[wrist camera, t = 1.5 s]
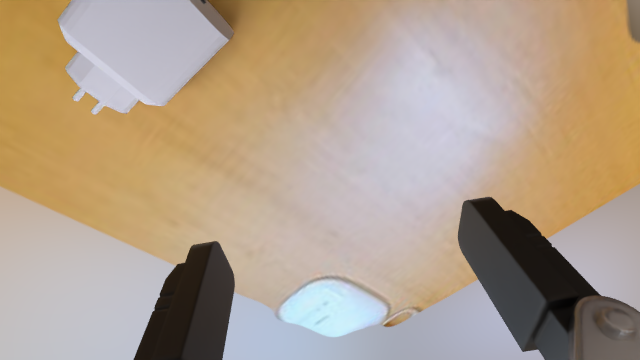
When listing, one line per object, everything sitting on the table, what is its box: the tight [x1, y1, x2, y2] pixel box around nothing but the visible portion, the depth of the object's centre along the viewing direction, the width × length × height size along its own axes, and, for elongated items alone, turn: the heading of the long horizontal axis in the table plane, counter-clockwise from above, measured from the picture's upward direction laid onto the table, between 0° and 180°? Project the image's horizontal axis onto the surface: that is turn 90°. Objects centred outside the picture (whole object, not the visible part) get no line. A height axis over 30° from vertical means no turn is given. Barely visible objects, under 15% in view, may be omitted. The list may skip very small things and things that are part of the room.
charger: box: [58, 0, 234, 114], centre depth 27 cm, size 5×9×15 cm
